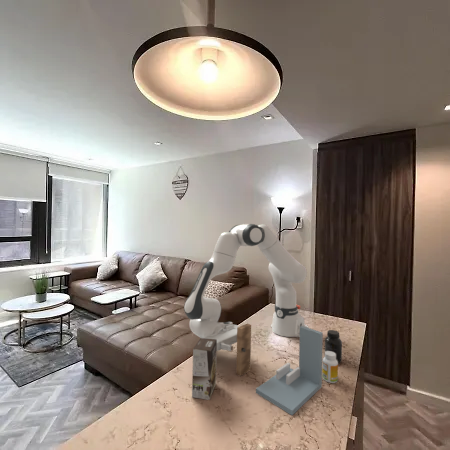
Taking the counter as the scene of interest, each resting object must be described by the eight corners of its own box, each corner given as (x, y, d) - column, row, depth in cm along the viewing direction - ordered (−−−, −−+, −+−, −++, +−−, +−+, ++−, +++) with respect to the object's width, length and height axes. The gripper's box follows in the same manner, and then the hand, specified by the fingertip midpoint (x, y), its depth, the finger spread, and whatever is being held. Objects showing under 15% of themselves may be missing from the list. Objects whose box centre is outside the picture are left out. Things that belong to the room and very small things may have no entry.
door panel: (246, 368, 101) (247, 323, 101) (252, 371, 99) (253, 325, 99) (236, 374, 97) (237, 327, 97) (242, 377, 94) (243, 330, 95)
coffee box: (210, 400, 82) (211, 351, 82) (191, 397, 83) (192, 348, 83) (216, 383, 91) (217, 338, 91) (199, 381, 92) (200, 336, 92)
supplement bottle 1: (326, 354, 114) (326, 327, 114) (342, 358, 110) (343, 331, 110) (323, 360, 108) (323, 332, 108) (340, 365, 104) (341, 336, 104)
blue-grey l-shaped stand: (287, 370, 100) (288, 321, 100) (321, 387, 90) (322, 332, 90) (255, 392, 86) (256, 335, 86) (292, 415, 76) (293, 351, 76)
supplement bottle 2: (338, 377, 96) (338, 352, 96) (336, 385, 91) (337, 358, 91) (323, 373, 99) (324, 348, 99) (321, 380, 94) (321, 354, 94)
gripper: (197, 333, 102) (221, 345, 92) (232, 320, 117) (256, 329, 107) (197, 348, 102) (220, 362, 92) (232, 334, 117) (255, 344, 107)
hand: (240, 344), depth 100 cm, fingers open, 8 cm apart
